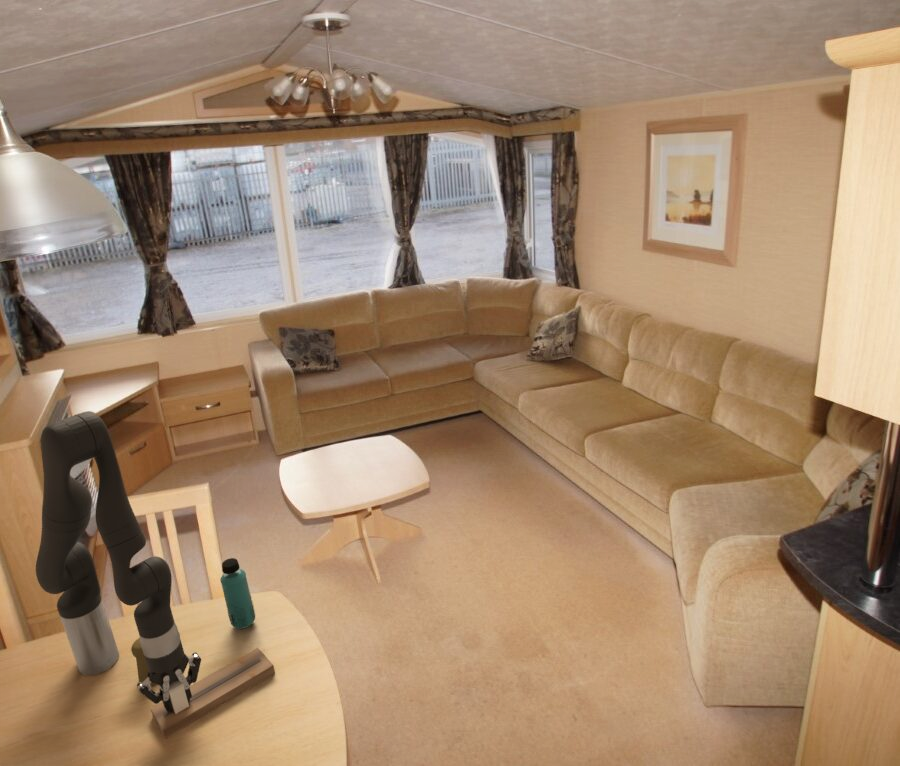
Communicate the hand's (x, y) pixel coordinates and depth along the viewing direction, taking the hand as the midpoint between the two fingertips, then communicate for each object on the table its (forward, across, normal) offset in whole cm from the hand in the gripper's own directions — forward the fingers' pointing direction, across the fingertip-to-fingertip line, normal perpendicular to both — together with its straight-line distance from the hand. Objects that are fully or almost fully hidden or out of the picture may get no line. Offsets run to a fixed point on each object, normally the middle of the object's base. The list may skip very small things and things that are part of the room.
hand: (178, 704), depth 152 cm
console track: (+3, -8, 0) cm, 9 cm away
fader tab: (0, 0, 0) cm, 0 cm away
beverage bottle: (+3, -23, -17) cm, 29 cm away
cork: (+3, +1, -16) cm, 16 cm away
